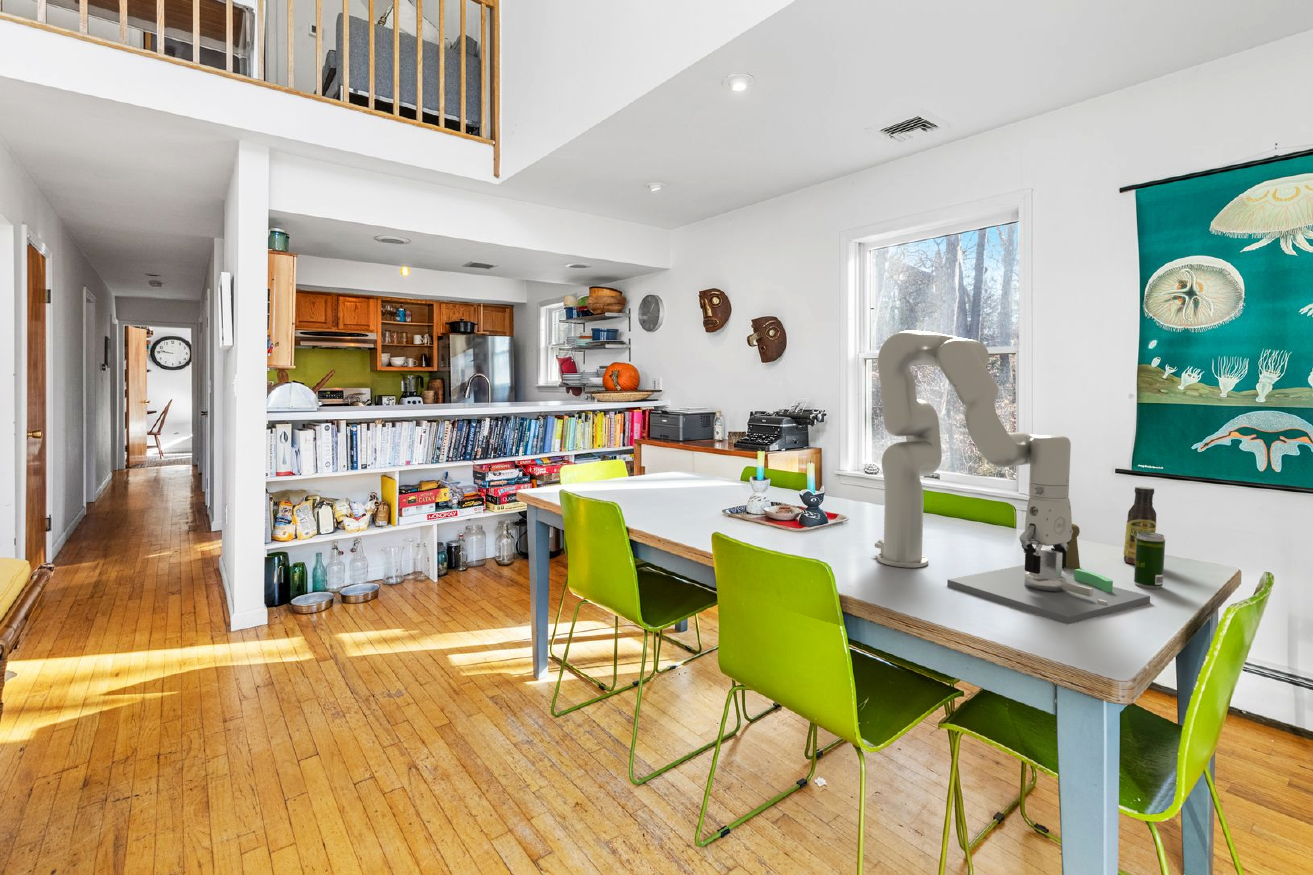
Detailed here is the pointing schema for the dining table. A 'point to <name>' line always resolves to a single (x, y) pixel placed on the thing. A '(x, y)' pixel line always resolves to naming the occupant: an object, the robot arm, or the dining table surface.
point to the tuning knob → (1053, 575)
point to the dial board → (1051, 594)
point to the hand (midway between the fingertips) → (1045, 569)
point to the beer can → (1149, 560)
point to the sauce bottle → (1139, 520)
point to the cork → (1073, 550)
